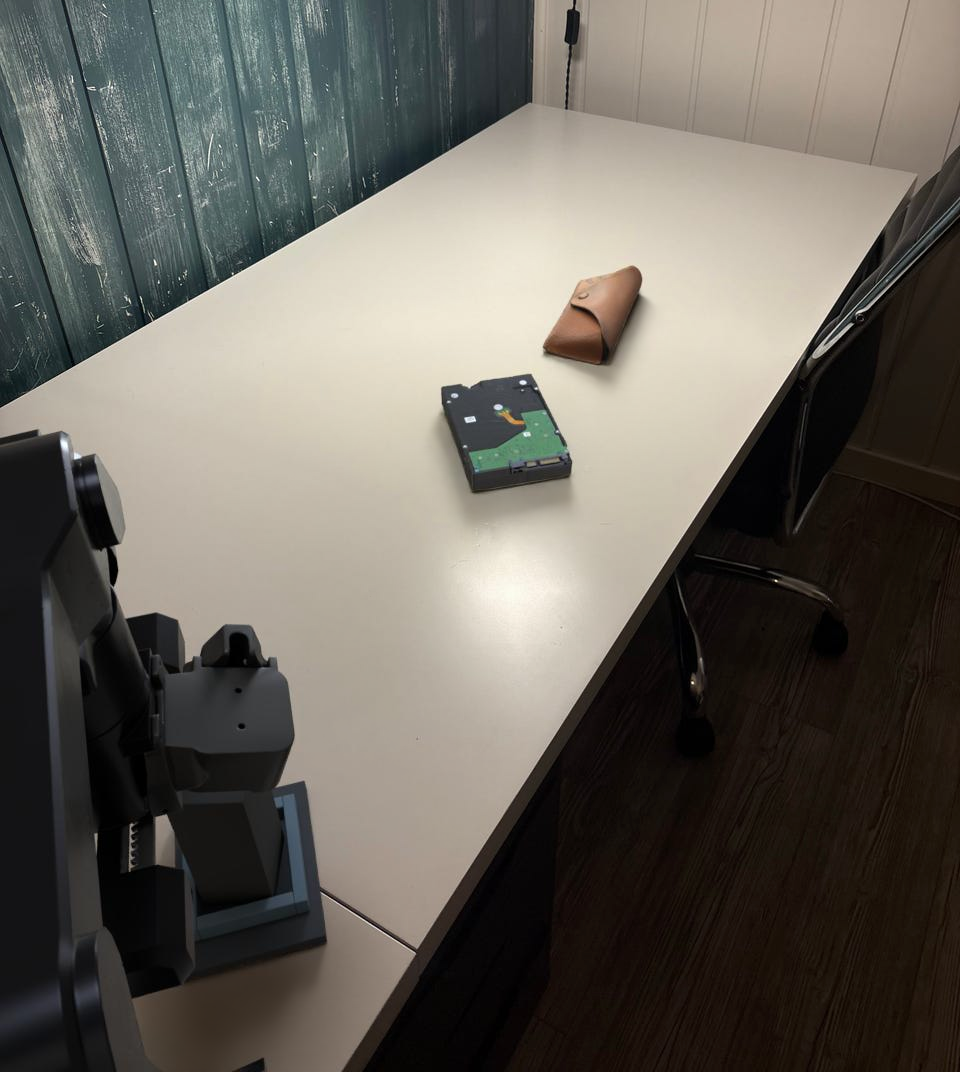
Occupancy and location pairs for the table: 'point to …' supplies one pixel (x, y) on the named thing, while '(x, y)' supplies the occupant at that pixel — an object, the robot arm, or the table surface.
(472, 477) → the disk drive
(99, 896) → the robot arm
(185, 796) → the dark grey square block
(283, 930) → the base pad
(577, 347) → the sunglasses case
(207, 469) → the table surface
